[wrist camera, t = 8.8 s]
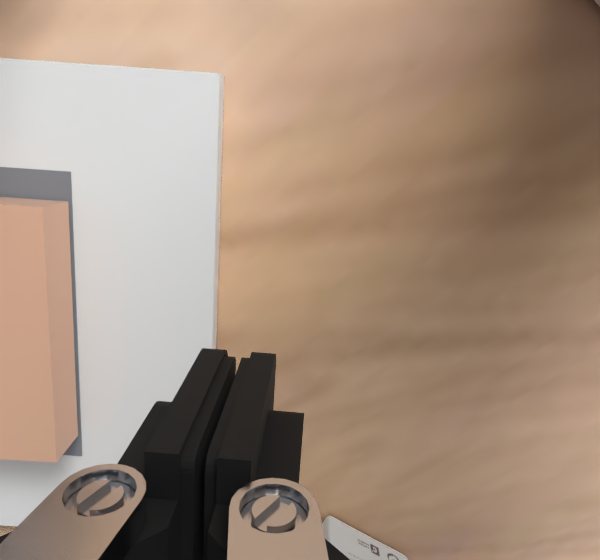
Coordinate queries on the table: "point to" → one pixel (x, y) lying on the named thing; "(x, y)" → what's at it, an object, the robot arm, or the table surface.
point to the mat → (118, 238)
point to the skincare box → (357, 542)
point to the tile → (36, 331)
